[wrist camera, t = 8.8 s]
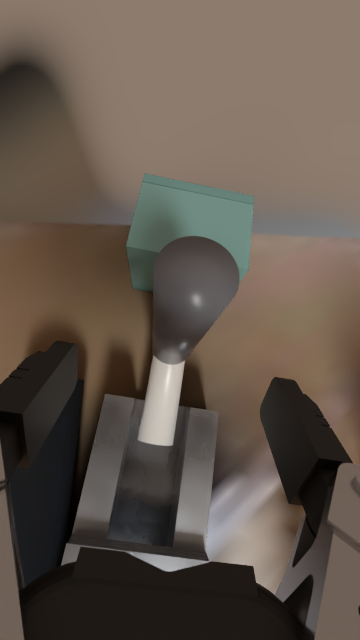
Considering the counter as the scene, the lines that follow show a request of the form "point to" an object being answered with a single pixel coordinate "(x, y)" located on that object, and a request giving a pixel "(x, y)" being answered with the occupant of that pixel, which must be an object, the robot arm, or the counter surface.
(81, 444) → the counter surface
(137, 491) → the grey grooved block
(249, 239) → the teal block
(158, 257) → the grey piece
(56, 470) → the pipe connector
